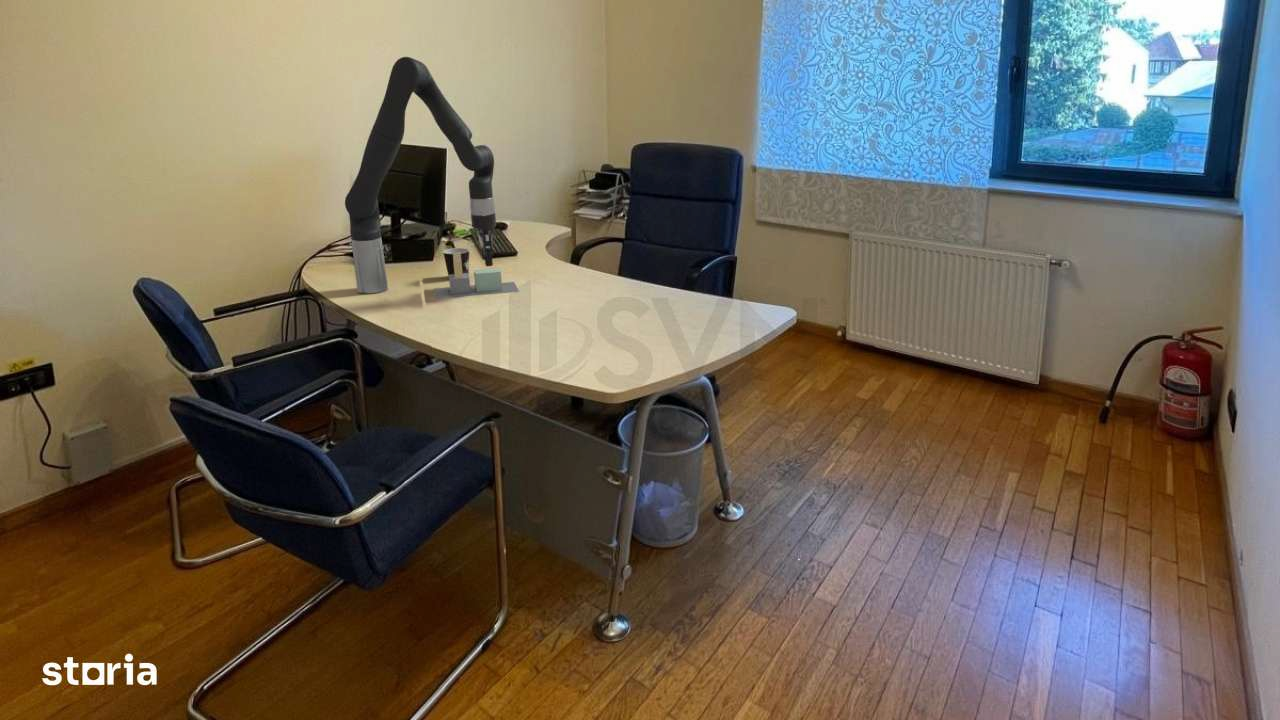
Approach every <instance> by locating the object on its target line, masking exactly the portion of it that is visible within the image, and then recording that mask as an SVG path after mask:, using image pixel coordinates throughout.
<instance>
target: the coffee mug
mask: <svg viewBox="0 0 1280 720" xmlns="http://www.w3.org/2000/svg"><path fill="white" fill-rule="evenodd" d="M453 252H461V262H462V273H468V276H469V273H470V268H469V267H470V249H469V248H464V247H463V248H462V247H453V248H448V249H445V250H443V257H444V261H445V262H444V263H445V267H446V271H447V276H448V277H449V275H450V274H455V273H454V262H453ZM469 277H470V276H469Z"/></svg>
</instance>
